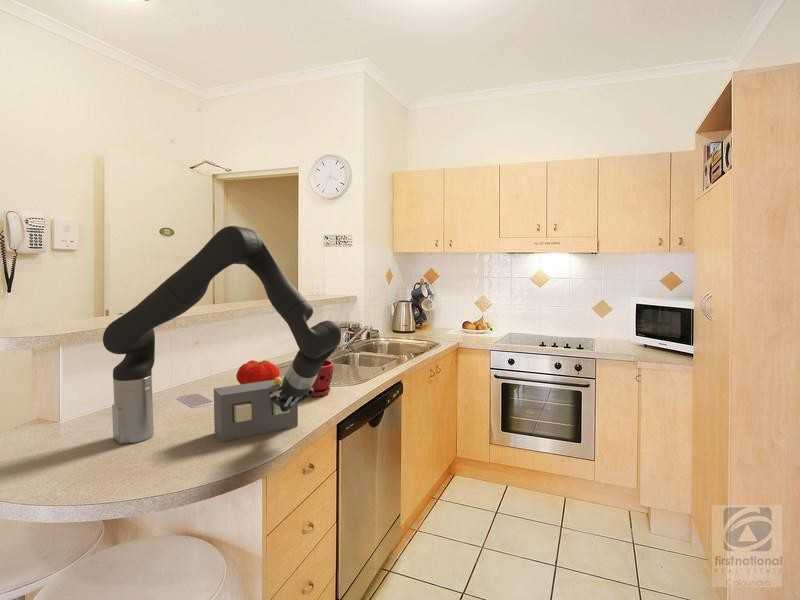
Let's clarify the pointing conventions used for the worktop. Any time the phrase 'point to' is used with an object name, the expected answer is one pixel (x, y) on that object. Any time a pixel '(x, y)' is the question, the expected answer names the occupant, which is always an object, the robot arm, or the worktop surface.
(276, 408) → the key sage
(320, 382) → the plant pot
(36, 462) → the worktop surface
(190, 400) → the mobile phone
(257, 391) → the keypad console
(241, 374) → the tomato
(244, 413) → the block
